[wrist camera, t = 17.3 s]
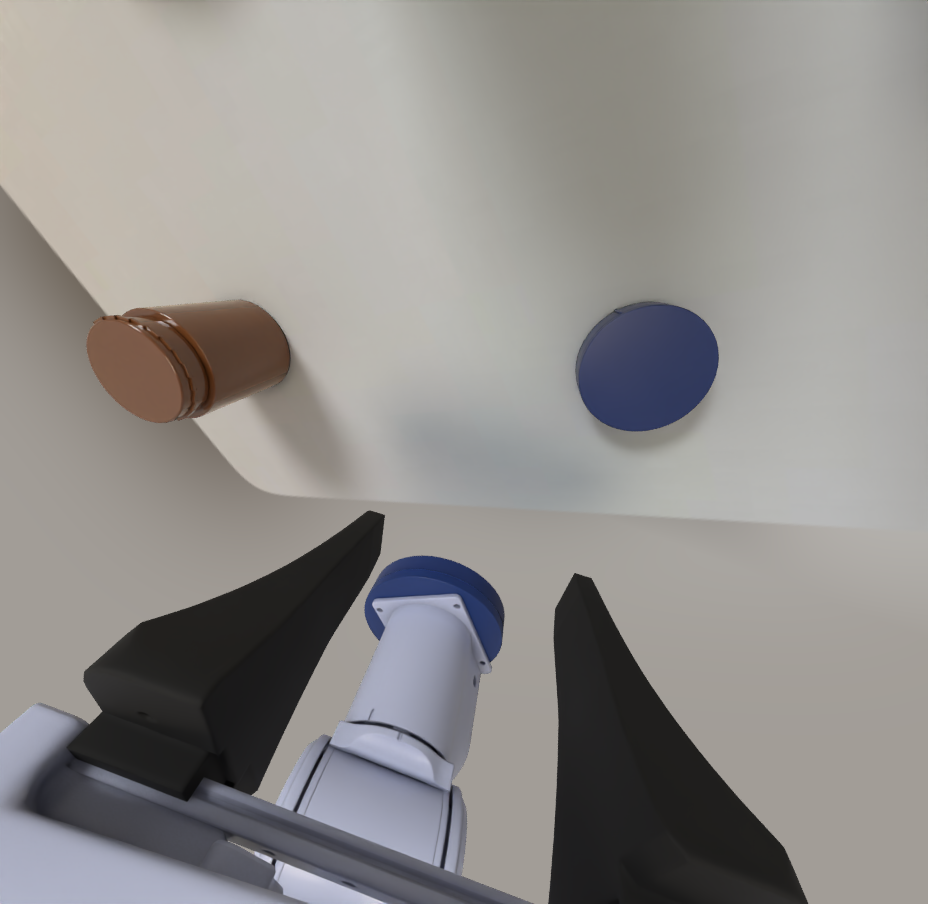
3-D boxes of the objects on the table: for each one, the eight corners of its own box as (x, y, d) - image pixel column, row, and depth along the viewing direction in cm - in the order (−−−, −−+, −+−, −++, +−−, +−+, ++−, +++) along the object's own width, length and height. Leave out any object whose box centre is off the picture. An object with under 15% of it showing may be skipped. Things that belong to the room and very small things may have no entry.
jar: (305, 373, 21) (211, 413, 15) (245, 396, 23) (139, 440, 17) (257, 285, 19) (127, 291, 13) (196, 317, 21) (55, 335, 15)
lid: (556, 340, 17) (557, 346, 16) (681, 273, 15) (696, 273, 14) (600, 435, 19) (605, 448, 18) (717, 389, 17) (734, 400, 15)
